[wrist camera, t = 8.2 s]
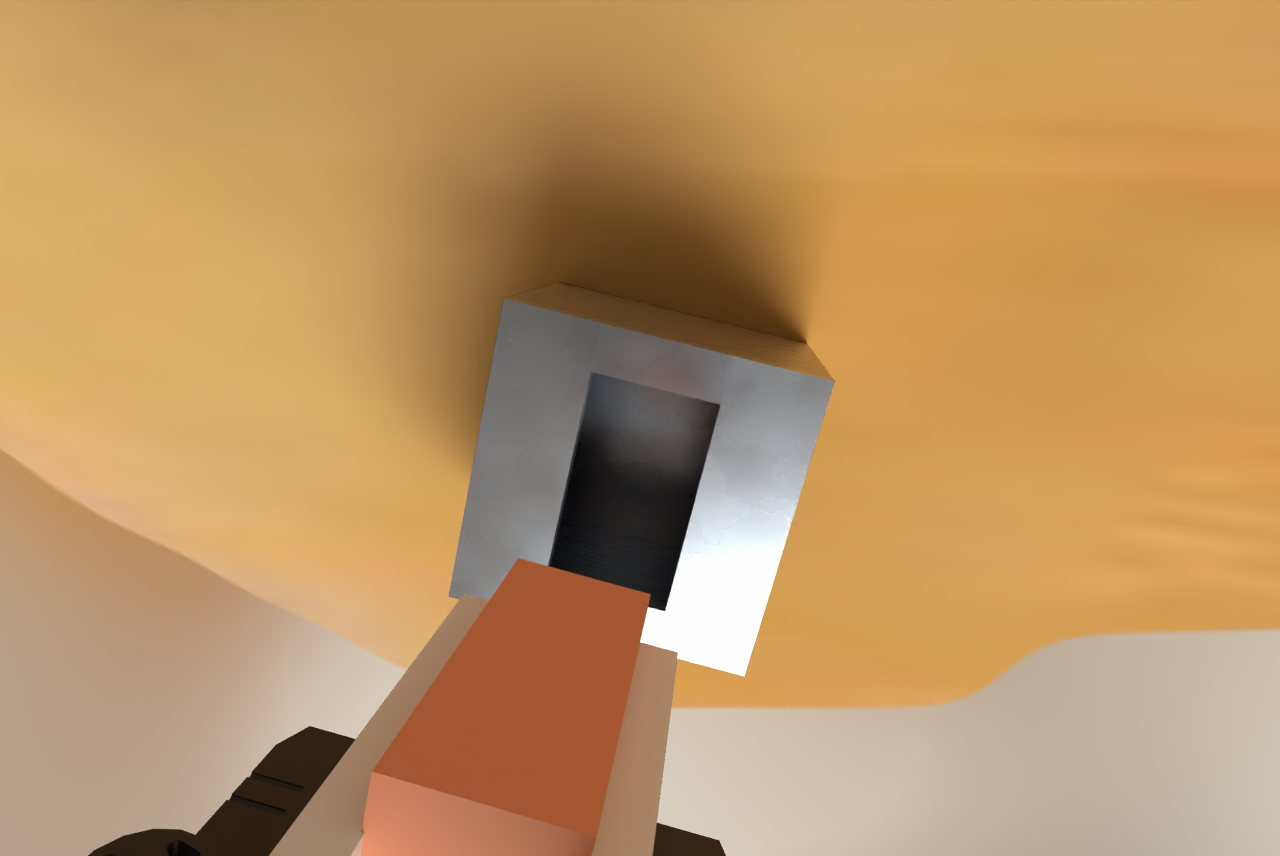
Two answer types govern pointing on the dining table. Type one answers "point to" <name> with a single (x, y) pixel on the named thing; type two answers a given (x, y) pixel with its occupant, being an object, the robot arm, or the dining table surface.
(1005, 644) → the dining table surface
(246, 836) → the robot arm
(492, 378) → the coin box
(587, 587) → the salmon pink eraser
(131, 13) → the dining table surface
